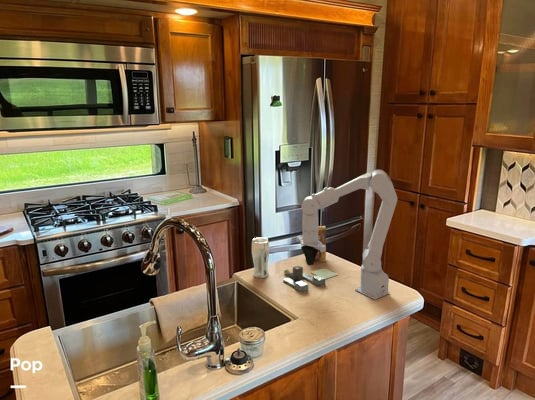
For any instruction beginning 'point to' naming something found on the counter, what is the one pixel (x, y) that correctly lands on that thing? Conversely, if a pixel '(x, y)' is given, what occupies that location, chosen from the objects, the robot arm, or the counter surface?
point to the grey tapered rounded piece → (295, 273)
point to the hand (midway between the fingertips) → (310, 264)
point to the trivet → (324, 273)
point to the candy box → (322, 238)
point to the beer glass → (260, 257)
